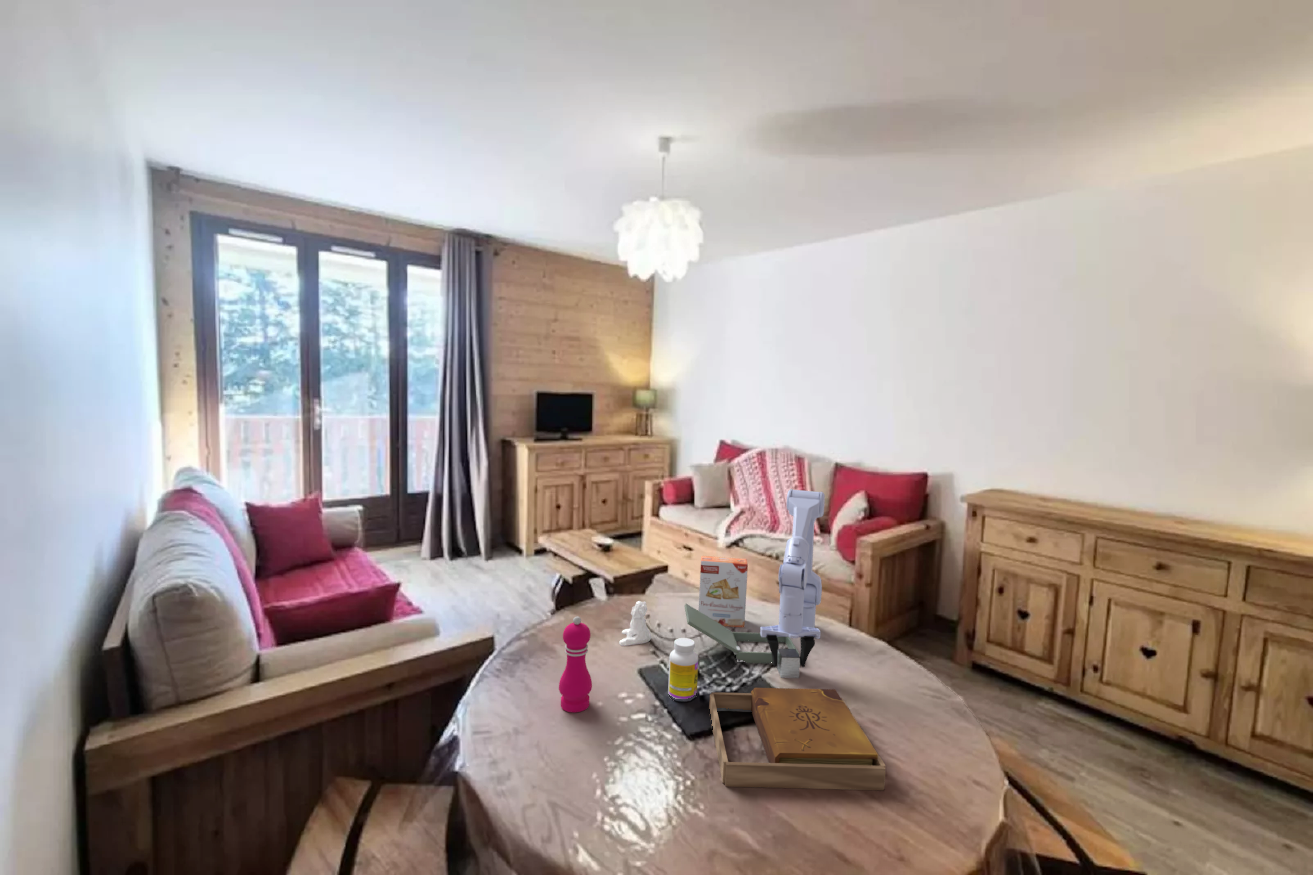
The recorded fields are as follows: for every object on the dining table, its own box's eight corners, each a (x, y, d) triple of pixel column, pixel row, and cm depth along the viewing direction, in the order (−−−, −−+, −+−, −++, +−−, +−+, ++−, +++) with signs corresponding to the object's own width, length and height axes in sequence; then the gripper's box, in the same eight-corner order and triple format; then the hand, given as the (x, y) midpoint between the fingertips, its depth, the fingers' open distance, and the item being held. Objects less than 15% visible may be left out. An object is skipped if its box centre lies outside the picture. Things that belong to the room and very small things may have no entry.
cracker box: (697, 629, 170) (700, 560, 169) (698, 621, 176) (700, 554, 175) (744, 633, 169) (748, 563, 167) (744, 625, 175) (747, 557, 173)
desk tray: (708, 709, 126) (709, 692, 126) (839, 713, 126) (840, 695, 126) (723, 786, 101) (724, 764, 101) (886, 790, 102) (887, 768, 101)
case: (683, 642, 160) (684, 603, 160) (786, 645, 161) (788, 606, 160) (685, 664, 147) (687, 621, 147) (798, 667, 148) (800, 624, 147)
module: (776, 669, 145) (777, 648, 145) (794, 670, 145) (795, 649, 145) (780, 678, 141) (781, 656, 140) (798, 678, 141) (800, 657, 141)
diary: (750, 712, 126) (751, 687, 126) (833, 714, 127) (835, 689, 127) (773, 782, 103) (775, 751, 103) (876, 783, 104) (877, 753, 104)
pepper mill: (585, 716, 122) (587, 624, 121) (553, 711, 123) (555, 621, 122) (595, 699, 129) (598, 612, 128) (565, 694, 130) (567, 609, 129)
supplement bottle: (698, 704, 128) (700, 648, 127) (668, 703, 128) (670, 647, 127) (695, 689, 135) (697, 636, 134) (667, 688, 135) (669, 635, 134)
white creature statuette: (621, 635, 165) (623, 594, 164) (651, 636, 164) (653, 595, 163) (618, 649, 155) (619, 606, 154) (650, 650, 155) (651, 607, 154)
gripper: (765, 616, 138) (762, 671, 139) (825, 618, 138) (822, 673, 139) (759, 606, 145) (757, 658, 146) (816, 608, 145) (813, 660, 146)
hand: (788, 664), depth 143 cm, fingers open, 6 cm apart
